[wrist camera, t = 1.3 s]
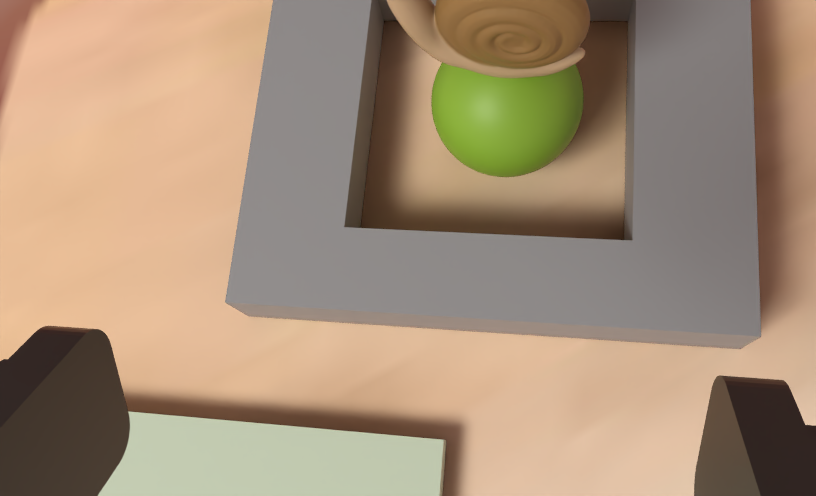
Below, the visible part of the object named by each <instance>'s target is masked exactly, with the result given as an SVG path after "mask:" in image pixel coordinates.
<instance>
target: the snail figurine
mask: <svg viewBox="0 0 816 496" xmlns="http://www.w3.org/2000/svg"><path fill="white" fill-rule="evenodd" d="M387 2H388V5H389V7H390V9H391V11H392V12H393V14H394V16H395V17H396V19H397V20H398V22H399V23H400V24H401V26H402V27H403V29H404V30H405V31H406V33H407V34H408V35H409V36H410V37H411V38H412V39H413V41H414V42H415V43H416V44H417V45H418V46H420V47H421V48H422V49H423V50H424V51H425V52H427V53H428V54H429V55H431V56H432V57H433V58H435V59H437V60H438V61H440V62H442V64H441V66H440V68H439V70H438V72H437V75H436V77H435V81H434V85H433V90H432V114H433V120H434V123H435V126H436V129H437V132H438V134H439V136H440V138H441V140H442V142H443V143H444V145H445V146H446V147H447V149H448V150H449V151H450V152H451V153H452V154H453V155H454V156H455V157H456V158H457V159H458V160H459V161H460V162H462V163H463V164H464V165H466V166H468V167H469V168H471V169H473V170H475V171H478V172H480V173H483V174H487V175H491V176H497V177H514V176H521V175H525V174H528V173H531V172H534V171H537V170H539V169H541V168H543V167H544V166H546V165H548V164H549V163H551V162H552V161H553V160H554V159H556V158H557V157H558V156H559V155H560V154H561V153H562V152H563V151H564V150H565V148H566V147H567V146H568V145H569V143H570V142H571V140H572V139H573V137H574V135H575V133H576V131H577V129H578V126H579V123H580V120H581V116H582V111H583V102H584V96H583V86H582V81H581V77H580V74H579V71H578V69H577V66H576V63H577V62H579V61H580V60H581V59H582V58H583V57H584V56H585V50H584V49H583V48H582V47H580V45H581V44H582V43H583V41H584V40H585V38H586V35H587V33H588V30H589V26H590V12H589V8H588V5H587V2H586V0H437V1H436V5H434V4H433V3H432V1H431V0H387Z"/></svg>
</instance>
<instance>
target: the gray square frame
mask: <svg viewBox="0 0 816 496" xmlns="http://www.w3.org/2000/svg"><path fill="white" fill-rule="evenodd" d="M431 1H432V3H433V4H434V5H436V1H437V0H431ZM586 2H587V5H588V8H589V12H590V21H628V36H627V93H626V150H625V207H624V240H609V239H588V238H566V237H545V236H523V235H501V234H480V233H458V232H437V231H415V230H393V229H372V228H360V227H361V218H362V210H363V201H364V192H365V183H366V175H367V166H368V157H369V148H370V140H371V131H372V122H373V113H374V104H375V96H376V87H377V78H378V69H379V61H380V52H381V43H382V34H383V26H384V21H398V20H397V19H396V17H395V16H394V14H393V12H392V11H391V9H390V7H389V5H388V2H387V0H273V5H272V11H271V18H270V24H269V30H268V36H267V43H266V49H265V55H264V62H263V68H262V74H261V80H260V87H259V93H258V99H257V105H256V112H255V118H254V124H253V131H252V137H251V143H250V149H249V156H248V162H247V168H246V175H245V181H244V187H243V193H242V200H241V206H240V212H239V219H238V225H237V231H236V237H235V244H234V250H233V256H232V263H231V269H230V275H229V281H228V288H227V294H226V300H225V303H227V304H229V305H230V306H232V307H234V308H235V309H237V310H239V311H241V312H242V313H244V314H246V315H247V316H252V317H267V318H282V319H297V320H312V321H327V322H342V323H357V324H372V325H387V326H402V327H417V328H432V329H447V330H462V331H477V332H492V333H507V334H522V335H537V336H552V337H567V338H582V339H597V340H612V341H627V342H642V343H657V344H672V345H687V346H702V347H717V348H732V349H741V348H743V347H744V346H746V345H748V344H749V343H751V342H753V341H755V340H756V339H758V338H760V337H761V319H760V287H759V255H758V223H757V191H756V159H755V127H754V95H753V63H752V31H751V0H586Z"/></svg>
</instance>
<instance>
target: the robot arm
mask: <svg viewBox="0 0 816 496" xmlns="http://www.w3.org/2000/svg"><path fill="white" fill-rule="evenodd" d="M129 433H130V418H129V413H128V409H127V405H126V401H125V397H124V394H123V390H122V386H121V382H120V378H119V374H118V371H117V367H116V363H115V359H114V355H113V351H112V347H111V344H110V341H109V339H108V337H107V335H106V334H105V333H104V332H103V331H101V330H99V329H86V328H72V327H58V326H45V327H42V328H40V329H39V330H38V331H36V332H35V333H34V334H33V335H32V336H31V337H30V338H29V339H28V340H27V341H26V342H25V343H24V344H23V345H22V346H21V347H20V348H19V349H18V350H17V351H16V352H15V353H14V354H13V355H12V356H11V357H10V358H9V359H8V360H7V359H4V360H2V361H0V496H98V495H99V493H100V492H101V490H102V489H103V487H104V486H105V484H106V483H107V481H108V480H109V478H110V477H111V475H112V474H113V472H114V471H115V469H116V468H117V466H118V465H119V463H120V461H121V460H122V458H123V456H124V453H125V451H126V448H127V444H128V440H129ZM694 496H816V426H811V425H805V423H804V421H803V419H802V416H801V414H800V411H799V409H798V407H797V404H796V402H795V400H794V397H793V395H792V392H791V390H790V388H789V386H788V384H787V383H786V382H785V381H783V380H773V379H759V378H745V377H731V376H717V377H716V379H715V381H714V383H713V386H712V390H711V395H710V400H709V405H708V410H707V415H706V420H705V425H704V430H703V435H702V440H701V445H700V451H699V456H698V461H697V466H696V472H695V484H694Z"/></svg>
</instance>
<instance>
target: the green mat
mask: <svg viewBox="0 0 816 496" xmlns="http://www.w3.org/2000/svg"><path fill="white" fill-rule="evenodd" d="M128 413H129V418H130V433H129V440H128V444H127V448H126V451H125V453H124V456H123V458H122V460H121V461H120V463H119V465H118V466H117V468H116V469H115V471H114V472H113V474H112V475H111V477H110V478H109V480H108V481H107V483H106V484H105V486H104V487H103V489H102V490H101V492H100V493H99V495H98V496H442V493H443V479H444V466H445V453H446V441H445V440H442V439H431V438H419V437H408V436H397V435H386V434H375V433H364V432H352V431H341V430H330V429H319V428H308V427H296V426H285V425H274V424H263V423H252V422H241V421H229V420H218V419H207V418H196V417H185V416H174V415H162V414H151V413H140V412H129V411H128Z"/></svg>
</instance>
